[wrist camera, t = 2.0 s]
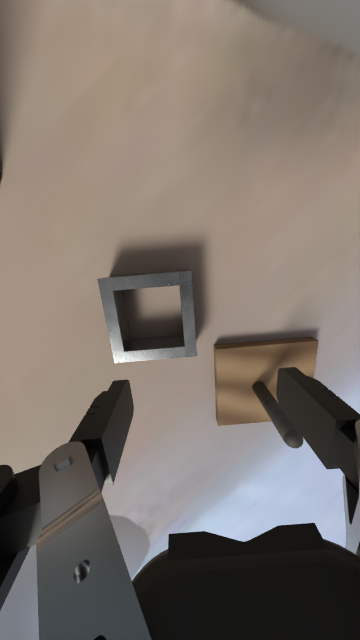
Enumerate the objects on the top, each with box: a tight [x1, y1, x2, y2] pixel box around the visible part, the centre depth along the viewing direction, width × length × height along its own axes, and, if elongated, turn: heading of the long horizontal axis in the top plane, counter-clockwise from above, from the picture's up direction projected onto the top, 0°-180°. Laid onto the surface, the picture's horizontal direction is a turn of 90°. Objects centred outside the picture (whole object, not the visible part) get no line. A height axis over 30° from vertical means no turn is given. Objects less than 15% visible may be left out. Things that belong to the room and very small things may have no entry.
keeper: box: [214, 337, 318, 448], centre depth 25 cm, size 14×15×12 cm
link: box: [98, 270, 197, 363], centre depth 25 cm, size 11×11×4 cm
